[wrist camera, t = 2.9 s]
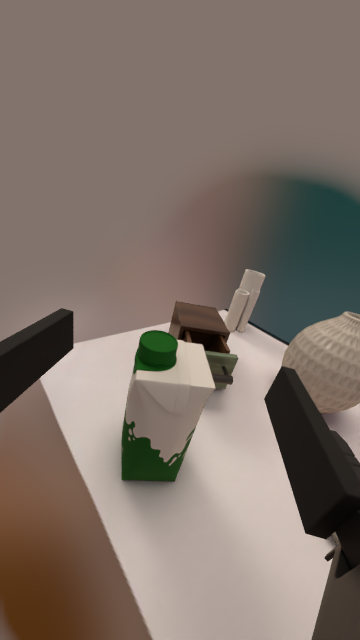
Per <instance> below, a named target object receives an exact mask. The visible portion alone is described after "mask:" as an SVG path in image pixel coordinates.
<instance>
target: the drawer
mask: <svg viewBox="0 0 360 640" xmlns="http://www.w3.org/2000/svg"><path fill="white" fill-rule="evenodd" d="M181 340H183V341H184V342H188V343H195V344H202V345H203V348H204V351H205V354H206V358H207V361H208V364H209V368H210V371H211V374H212V378H213V381H214V384H215V388H223V389H225V388H226V386H227V384H230V385H231V384H232V383H233V377H232V376H231V374H232V372H233V369H234V367H235V365H236V363H237V360H238V357H237V355H234V354H229V353H230V350H229V348H228V346H227V344H226V342H225V340H224V338H223V336H222V335H218V334H211V333H204V332H197V331H190V330H184V331H183V334H182V338H181Z"/></svg>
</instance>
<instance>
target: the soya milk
mask: <svg viewBox="0 0 360 640" xmlns="http://www.w3.org/2000/svg"><path fill="white" fill-rule="evenodd" d="M214 390H215V384H214V381H213V378H212V374H211V371H210V368H209V364H208V361H207V358H206V354H205V351H204V348H203V345H202V344H195V343H188V342H184V341H183V340H177V339H176V338H175V337H174V336H172V335H171V334H169V333H166V332H163V331H157V330H153V331H147V332H145V333H143V334H142V335H141V337H140V342H139V347H138V349H137V352H136V355H135V365H134V369H133V373H132V378H131V382H130V386H129V390H128V397H127V403H126V410H125V417H124V423H123V432H122V480H145V481H175V479H176V477H177V474H178V471H179V469H180V466H181V464H182V461H183V458H184V456H185V453H186V451H187V448H188V445H189V443H190V440H191V438H192V435H193V433H194V430H195V428H196V425H197V423H198V420H199V417H200V415H201V412H202V410H203V407H204V405H205V403H206V401H207V399H208V398H209V397H210V395H211V394H212V392H213V391H214Z"/></svg>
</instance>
